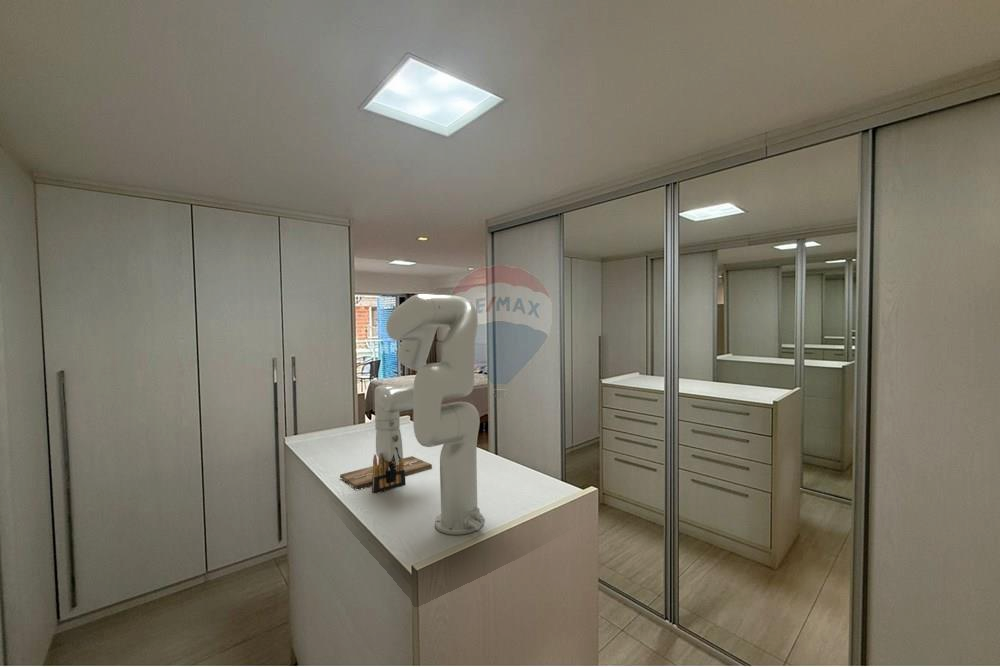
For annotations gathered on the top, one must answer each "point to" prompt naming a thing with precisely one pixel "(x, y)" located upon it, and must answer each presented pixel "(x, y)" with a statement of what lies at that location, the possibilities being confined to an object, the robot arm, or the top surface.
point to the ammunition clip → (380, 475)
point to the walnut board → (364, 476)
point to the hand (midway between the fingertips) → (388, 480)
